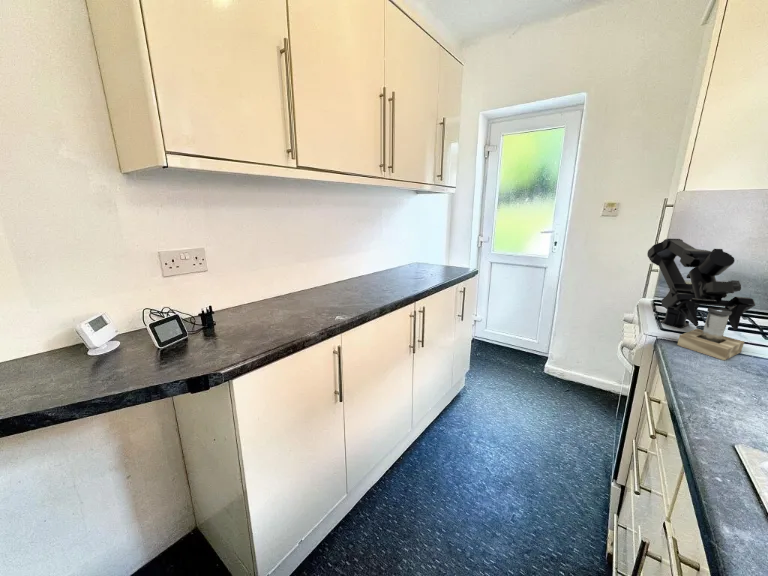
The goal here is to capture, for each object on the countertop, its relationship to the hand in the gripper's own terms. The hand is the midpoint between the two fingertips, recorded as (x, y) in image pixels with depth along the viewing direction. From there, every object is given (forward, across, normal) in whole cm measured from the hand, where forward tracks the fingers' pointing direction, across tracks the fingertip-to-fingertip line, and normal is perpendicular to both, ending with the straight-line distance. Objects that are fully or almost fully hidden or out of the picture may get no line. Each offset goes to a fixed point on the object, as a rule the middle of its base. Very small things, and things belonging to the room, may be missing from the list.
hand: (716, 327), depth 95 cm
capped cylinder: (+5, 0, +6) cm, 7 cm away
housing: (+5, 0, +6) cm, 7 cm away
